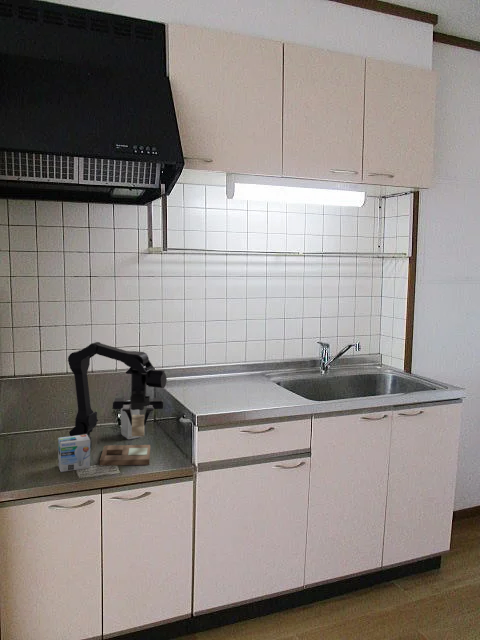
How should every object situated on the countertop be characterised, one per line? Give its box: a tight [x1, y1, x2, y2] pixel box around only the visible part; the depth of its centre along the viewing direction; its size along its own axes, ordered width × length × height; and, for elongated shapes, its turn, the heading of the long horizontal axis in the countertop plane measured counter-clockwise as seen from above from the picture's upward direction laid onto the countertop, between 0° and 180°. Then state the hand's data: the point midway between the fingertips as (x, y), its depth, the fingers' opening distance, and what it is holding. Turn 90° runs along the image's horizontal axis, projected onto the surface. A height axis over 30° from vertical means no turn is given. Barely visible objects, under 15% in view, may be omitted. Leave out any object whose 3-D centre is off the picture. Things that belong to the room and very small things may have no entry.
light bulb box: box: [57, 434, 91, 473], centre depth 190 cm, size 11×7×11 cm, turn 117°
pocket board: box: [99, 444, 151, 466], centre depth 201 cm, size 18×15×2 cm
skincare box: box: [120, 399, 141, 440], centre depth 224 cm, size 8×6×15 cm
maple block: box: [132, 414, 145, 437], centre depth 200 cm, size 4×4×7 cm
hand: (138, 425), depth 200 cm, fingers closed on maple block, 4 cm apart
